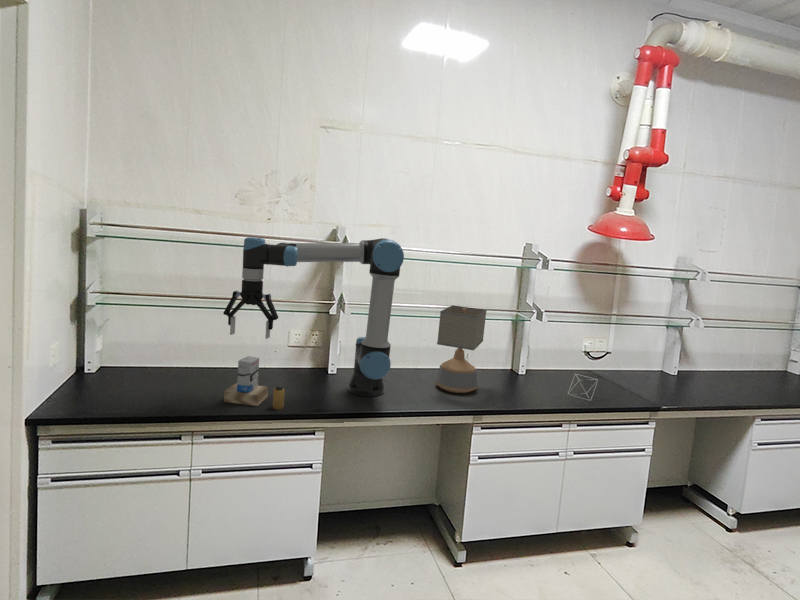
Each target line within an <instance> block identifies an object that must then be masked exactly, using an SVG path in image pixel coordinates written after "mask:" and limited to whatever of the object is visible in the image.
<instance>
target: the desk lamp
mask: <svg viewBox="0 0 800 600" xmlns="http://www.w3.org/2000/svg"><path fill="white" fill-rule="evenodd" d="M486 316H487V309H482V308H475V307H467V306H461V305H453V304H452V305H450V306H448V307H446V308H444V309H441V311H440V312H439V323H438V331H437V333H438V334H437V341H436V345H438V346H443V347H445V346H446V347H450V348H457V349H455V350H454V355H453V358H450V359H448V360H446V361H443V362H442V363H441V364H440V365H439V368H438V370H437V375H436V376H435V377H436V378H435V384H436V385H437V386H438V387H440V388H441V389H442V390H444V391H446V392H449V393H453V394H467V393H470V392H473V391H474V390H477V388H478V377H477V376H478V375H477V369H476V367H475V366H474V365H473V364H471V363H470V362H469V361H468V360H466V359H465V357H466V356H465V350H468V351H469V350H470V351H475V350H476V349H477V348H478V347H479V346H480V345H481V344H482V343H483V342H484V336H485V335H484V334H485V326H486V318H487V317H486Z"/></svg>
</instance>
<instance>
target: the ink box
mask: <svg viewBox="0 0 800 600" xmlns="http://www.w3.org/2000/svg"><path fill="white" fill-rule="evenodd" d="M237 363H238V364H237V381H236V383H237V391H239V392H246V393H249V392H250V391H252V390H253V389H255V388H256V387H258V386H259V370H260V369H259V368H260V357H256V356H251V355H247V356H245V357H243V358H241V359H238V362H237Z"/></svg>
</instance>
